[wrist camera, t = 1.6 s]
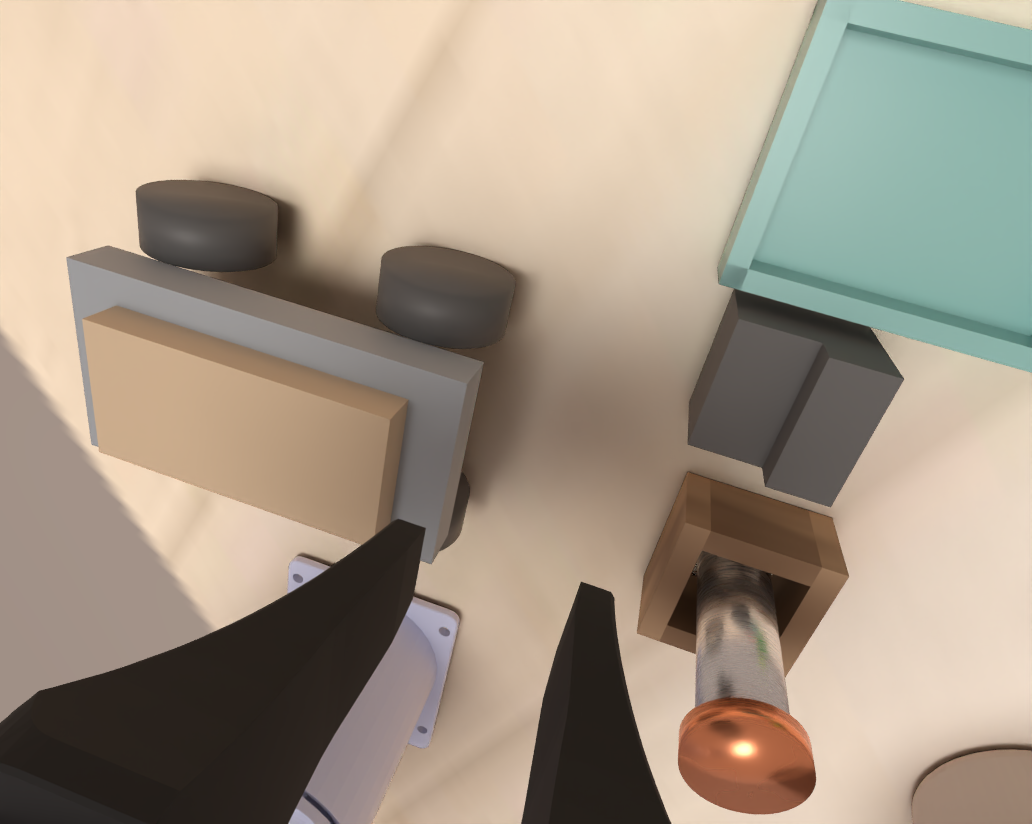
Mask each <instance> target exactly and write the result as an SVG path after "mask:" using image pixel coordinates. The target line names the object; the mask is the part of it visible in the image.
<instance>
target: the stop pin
mask: <svg viewBox="0 0 1032 824" xmlns="http://www.w3.org/2000/svg"><path fill="white" fill-rule="evenodd" d="M678 766H679V770H680V773H681V775H682V777H683V779H684V780H685V782H686V783H687V784H688V786H689V787H690V788H691V789H692V790H693V791H695V792H696V793H697V794H698V795H700V796H701V797H703V798H704V799H706V800H707V801H709V802H711V803H713V804H715V805H718V806H720V807H723V808H726V809H729V810H732V811H736V812H741V813H748V814H773V813H779V812H783V811H787V810H790V809H792V808H794V807H796V806H798V805H800V804H801V803H803V802H804V801H805V800H806V799H807V798H808V797H809V796H810V795H811V793H812V792H813V790H814V787H815V783H816V773H815V767H814V760H813V754H812V748H811V743H810V739H809V736H808V734H807V732H806V731H805V729H804V728H803V727H802V725H801V724H800V723H799V722H798V721H797V720H796V719H794V718H793V717H792V716H791V715H790V713H789V706H788V698H787V691H786V684H785V676H784V669H783V661H782V654H781V646H780V639H779V631H778V624H777V617H776V609H775V602H774V594H773V587H772V579H771V573H768V572H765V571H762V570H759V569H756V568H753V567H750V566H747V565H744V564H741V563H738V562H735V561H732V560H729V559H726V558H723V557H720V556H717V555H714V554H711V553H708V552H705V551H701V553H700V556H699V558H698V560H697V620H696V693H695V708H694V709H692V710H691V711H690V712H689V713H688V714H687V715H686V716H685V717H684V719H683V720H682V723H681V725H680V729H679V748H678Z"/></svg>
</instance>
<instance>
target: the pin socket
mask: <svg viewBox="0 0 1032 824" xmlns="http://www.w3.org/2000/svg"><path fill="white" fill-rule="evenodd" d="M701 551H705V552H708V553H711V554H714V555H717V556H720V557H723V558H726V559H729V560H732V561H735V562H738V563H741V564H744V565H747V566H750V567H753V568H756V569H759V570H762V571H765V572H768V573H771V574H773V576H772V577H771V579H772V587H773V594H774V602H775V609H776V617H777V624H778V631H779V639H780V646H781V654H782V661H783V669H784V676H785V677H786V675H787V674H788V672H789V671H790V669H791V667H792V666H793V664H794V663H795V661H796V659H797V658H798V656H799V655H800V653H801V652H802V650H803V648H804V647H805V645H806V644H807V642H808V641H809V639H810V637H811V636H812V634H813V633H814V631H815V629H816V628H817V626H818V625H819V623H820V622H821V620H822V618H823V617H824V615H825V614H826V612H827V611H828V609H829V607H830V606H831V604H832V603H833V601H834V599H835V598H836V596H837V595H838V593H839V592H840V590H841V588H842V587H843V585H844V584H845V582H846V581H847V579H848V577H849V574H848V571H847V568H846V564H845V561H844V557H843V554H842V550H841V547H840V543H839V540H838V536H837V533H836V530H835V526H834V523H833V519H832V518H830V517H827V516H824V515H821V514H818V513H815V512H812V511H808V510H805V509H802V508H799V507H796V506H793V505H790V504H786V503H783V502H780V501H777V500H774V499H771V498H768V497H765V496H761V495H758V494H755V493H752V492H749V491H746V490H743V489H739V488H736V487H733V486H730V485H727V484H724V483H721V482H717V481H714V480H711V479H708V478H705V477H702V476H699V475H696V474H692V473H689V472H687V474H686V477H685V479H684V482H683V484H682V486H681V489H680V491H679V493H678V496H677V498H676V501H675V503H674V505H673V508H672V510H671V513H670V515H669V517H668V520H667V522H666V524H665V527H664V529H663V532H662V534H661V536H660V539H659V541H658V543H657V546H656V548H655V551H654V553H653V555H652V558H651V560H650V562H649V565H648V567H647V570H646V572H645V574H644V578H643V587H642V595H641V603H640V612H639V620H638V628H637V633H638V634H640V635H643V636H646V637H649V638H652V639H655V640H657V641H660V642H663V643H666V644H669V645H672V646H675V647H677V648H680V649H683V650H686V651H689V652H692V653H694V654H696V620H697V576H694V575H691V573H692V571H693V568H694V566H695V564H696V562H697V560H698V558H699V556H700V553H701Z"/></svg>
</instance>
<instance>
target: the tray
mask: <svg viewBox="0 0 1032 824" xmlns="http://www.w3.org/2000/svg"><path fill="white" fill-rule="evenodd" d="M718 282H719V284H720V285H724V286H727V287H731V288H734V289H738V290H741V291H745V292H748V293H752V294H756V295H759V296H763V297H766V298H770V299H773V300H777V301H780V302H784V303H787V304H791V305H794V306H798V307H802V308H805V309H809V310H812V311H816V312H819V313H823V314H826V315H830V316H833V317H837V318H840V319H844V320H847V321H851V322H855V323H858V324H862V325H865V326H869V327H872V328H876V329H879V330H883V331H886V332H890V333H893V334H897V335H900V336H904V337H908V338H911V339H915V340H918V341H922V342H925V343H929V344H932V345H936V346H939V347H943V348H946V349H950V350H953V351H957V352H961V353H964V354H968V355H971V356H975V357H978V358H982V359H985V360H989V361H992V362H996V363H999V364H1003V365H1006V366H1010V367H1014V368H1017V369H1021V370H1024V371H1028V372H1031V373H1032V30H1029V29H1024V28H1020V27H1015V26H1011V25H1006V24H1002V23H997V22H993V21H988V20H984V19H979V18H975V17H971V16H966V15H962V14H957V13H953V12H948V11H944V10H939V9H935V8H930V7H926V6H921V5H917V4H912V3H908V2H904V1H899V0H818V2H817V4H816V7H815V10H814V12H813V15H812V18H811V20H810V23H809V26H808V28H807V31H806V34H805V36H804V39H803V42H802V44H801V47H800V50H799V52H798V55H797V58H796V60H795V63H794V66H793V68H792V71H791V74H790V76H789V79H788V82H787V84H786V87H785V89H784V92H783V95H782V97H781V100H780V103H779V105H778V108H777V111H776V113H775V116H774V119H773V121H772V124H771V127H770V129H769V132H768V135H767V137H766V140H765V143H764V145H763V148H762V151H761V153H760V156H759V159H758V161H757V164H756V167H755V169H754V172H753V175H752V177H751V180H750V183H749V185H748V188H747V190H746V193H745V196H744V198H743V201H742V204H741V206H740V209H739V212H738V214H737V217H736V220H735V222H734V225H733V228H732V230H731V233H730V236H729V238H728V241H727V244H726V246H725V249H724V252H723V254H722V257H721V260H720V262H719V265H718Z"/></svg>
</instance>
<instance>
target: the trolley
mask: <svg viewBox="0 0 1032 824" xmlns="http://www.w3.org/2000/svg"><path fill="white" fill-rule="evenodd" d="M136 203H137V216H138V229H139V242H140V248H141V250H142V251H143V252H144V253H145V254H147V255H148V256H150V257H152V258H154V259H156V260H153V259H150V258H147V257H144V256H141V255H137V254H134V253H131V252H128V251H124V250H121V249H118V248H115V247H112V246H105V247H101V248H98V249H94V250H91V251H87V252H84V253H80V254H76V255H73V256H69V257H66V258H67V266H68V273H69V280H70V288H71V295H72V303H73V310H74V318H75V325H76V332H77V340H78V347H79V355H80V362H81V370H82V377H83V385H84V392H85V399H86V407H87V414H88V422H89V429H90V437H91V444H92V445H94V446H97V447H99V452H101V453H104V454H107V455H110V456H112V457H115V458H118V459H121V460H124V461H127V462H129V463H132V464H135V465H138V466H141V467H144V468H146V469H149V470H152V471H155V472H158V473H161V474H163V475H166V476H169V477H172V478H175V479H178V480H180V481H183V482H186V483H189V484H192V485H194V486H197V487H200V488H203V489H206V490H209V491H211V492H214V493H217V494H220V495H223V496H226V497H228V498H231V499H234V500H237V501H240V502H243V503H245V504H248V505H251V506H254V507H257V508H260V509H262V510H265V511H268V512H271V513H274V514H277V515H279V516H282V517H285V518H288V519H291V520H294V521H296V522H299V523H302V524H305V525H308V526H310V527H313V528H316V529H319V530H322V531H325V532H327V533H330V534H333V535H336V536H339V537H342V538H344V539H347V540H350V541H353V542H356V543H359V544H361V545H362V544H364V543H365V542H366V541H368V540H369V539H370V538H372V537H373V536H374V535H376V534H377V533H378V532H380V531H381V530H382V529H383V528H385V527H386V526H387V525H388V524H390V523H391V522H392V521H394V520H396V519H401V520H404V521H407V522H410V523H413V524H416V525H419V526H422V527H424V528H426V531H425V536H424V541H423V547H422V552H421V558H420V560H421V561H423V562H426V563H429V564H432V563H433V561H434V559H435V557H436V555H437V554H438V552H439V551H441V550H443V549H445V548H447V547H449V546H450V545H451V544H452V543H454V542H455V540H456V539H457V538H458V536H459V535H460V533H461V530H462V525H463V521H464V516H465V512H466V507H467V503H468V498H469V493H470V487H469V483H468V481H467V478H466V477H465V475H464V474H463V473H462V472H461V470H462V465H463V460H464V455H465V451H466V446H467V441H468V436H469V431H470V426H471V422H472V417H473V412H474V407H475V402H476V398H477V393H478V388H479V383H480V378H481V374H482V369H483V364H484V362H482V361H479V360H475V359H472V358H469V357H466V356H463V355H459V354H456V353H453V352H450V351H446V350H443V349H440V348H437V347H434V346H439V347H446V348H458V349H471V348H480V347H486V346H489V345H492V344H495V343H497V342H498V341H500V340H501V339H502V338H503V336H504V335H505V330H506V326H507V321H508V317H509V312H510V308H511V303H512V299H513V294H514V289H515V285H516V281H515V279H514V277H513V276H512V274H511V273H510V272H508V271H507V270H506V269H504V268H503V267H501V266H499V265H498V264H496V263H494V262H492V261H489V260H487V259H484V258H482V257H479V256H476V255H473V254H469V253H466V252H462V251H457V250H452V249H447V248H440V247H431V246H406V247H399V248H395V249H392V250H389V251H387V252H386V253H385V254H384V255H383V256H382V260H381V269H380V278H379V287H378V296H377V305H376V314H377V317H378V318H379V320H380V321H381V322H382V323H383V324H384V325H385V326H386V327H388V328H389V329H391V330H392V331H394V332H396V333H398V334H400V335H402V336H404V337H401V336H398V335H395V334H392V333H389V332H385V331H382V330H379V329H376V328H372V327H369V326H366V325H363V324H360V323H356V322H353V321H350V320H347V319H343V318H340V317H337V316H334V315H331V314H327V313H324V312H321V311H318V310H314V309H311V308H308V307H305V306H302V305H298V304H295V303H292V302H289V301H285V300H282V299H279V298H276V297H273V296H269V295H266V294H263V293H260V292H256V291H253V290H250V289H247V288H244V287H240V286H237V285H234V284H231V283H227V282H224V281H221V280H218V279H215V278H211V277H208V276H205V275H202V274H198V273H195V272H192V271H189V270H186V269H182V268H187V269H193V270H201V271H213V272H235V271H246V270H253V269H257V268H261V267H264V266H267V265H269V264H271V263H272V262H273V261H274V260H275V259H276V256H277V225H278V205H277V203H276V202H275V201H274V200H272V199H271V198H269V197H267V196H265V195H263V194H261V193H258V192H255V191H252V190H249V189H245V188H242V187H238V186H233V185H228V184H222V183H216V182H207V181H196V180H165V181H157V182H151V183H147V184H144V185H142V186H140V187H139V188H137V190H136ZM157 260H158V261H157ZM160 261H161V262H160ZM169 264H170V265H169ZM176 266H177V267H176ZM179 267H182V268H179ZM405 337H406V338H405ZM408 338H409V339H408ZM411 339H412V340H411ZM414 340H415V341H414ZM417 341H418V342H417ZM424 343H425V344H424ZM427 344H429V345H427ZM430 345H433V346H430Z"/></svg>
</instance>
